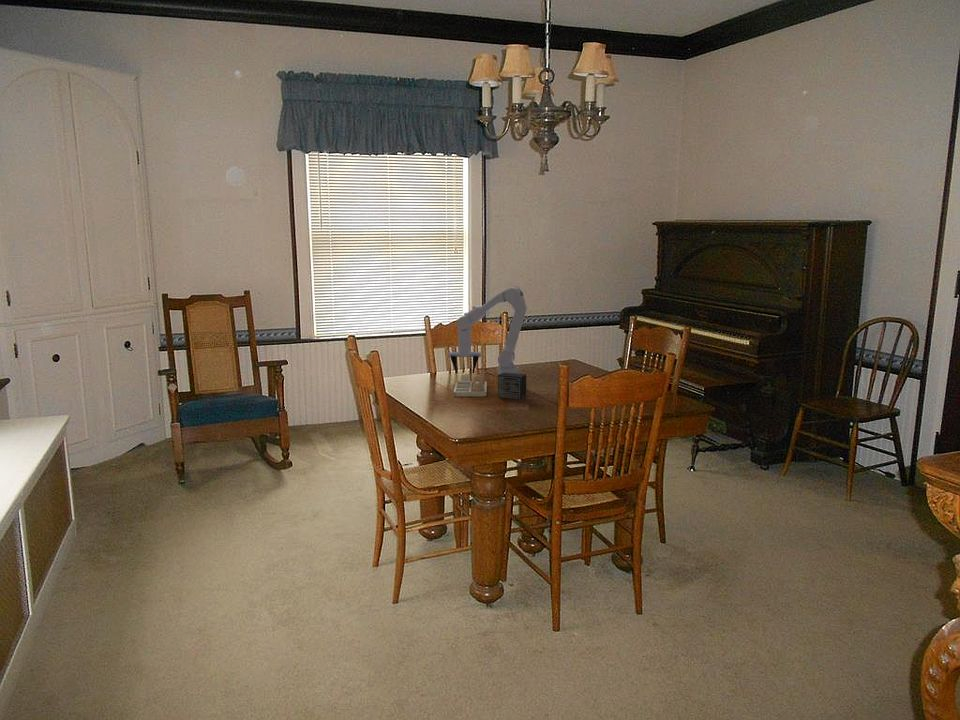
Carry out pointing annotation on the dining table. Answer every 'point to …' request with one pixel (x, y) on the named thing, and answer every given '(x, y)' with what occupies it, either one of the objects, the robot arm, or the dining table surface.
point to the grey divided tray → (468, 389)
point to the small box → (512, 385)
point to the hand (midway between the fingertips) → (464, 372)
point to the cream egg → (465, 377)
